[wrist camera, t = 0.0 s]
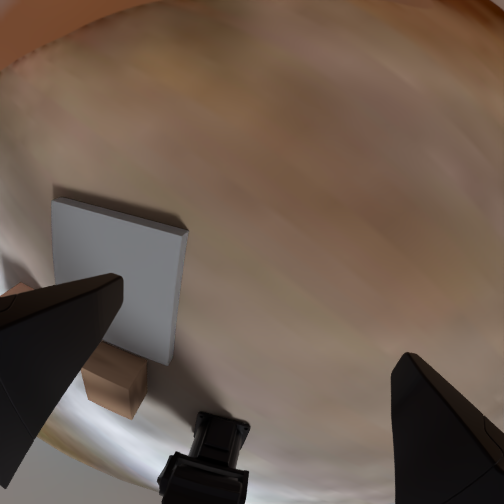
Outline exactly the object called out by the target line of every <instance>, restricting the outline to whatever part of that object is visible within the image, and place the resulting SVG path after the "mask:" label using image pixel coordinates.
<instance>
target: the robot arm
mask: <svg viewBox="0 0 504 504" xmlns="http://www.w3.org/2000/svg"><path fill="white" fill-rule="evenodd" d="M123 300H124V280H123V277H122V276H120V275H117V274H114V273H107V274H103V275H98V276H93V277H89V278H84V279H80V280H75V281H71V282H66V283H62V284H57V285H53V286H48V287H44V288H39V289H35V290H31V291H26V292H22V293H18V294H13V295H8V296H4V297H0V485H1V486H2V487H3V488H4V489H6V488H7V487H8V485H9V483H10V481H11V479H12V477H13V476H14V474H15V472H16V471H17V469H18V467H19V465H20V464H21V462H22V460H23V458H24V457H25V455H26V453H27V452H28V450H29V448H30V447H31V445H32V443H33V442H34V440H33V439H35V438H36V436H37V435H38V433H39V432H40V430H41V428H42V427H43V425H44V424H45V422H46V420H47V419H48V417H49V416H50V414H51V413H52V411H53V410H54V408H55V407H56V405H57V404H58V402H59V401H60V399H61V398H62V396H63V395H64V393H65V392H66V390H67V389H68V387H69V386H70V384H71V383H72V381H73V380H74V379H75V377H76V376H77V374H78V373H79V371H80V370H81V369H82V367H83V366H84V364H85V363H86V361H87V360H88V359H89V357H90V356H91V355H92V353H93V352H94V350H95V349H96V348H97V346H98V345H99V343H100V342H101V340H102V339H103V337H104V335H105V334H106V332H107V330H108V329H109V327H110V325H111V323H112V322H113V320H114V318H115V316H116V315H117V313H118V311H119V310H120V308H121V306H122V304H123ZM391 420H392V432H393V446H394V463H395V504H504V433H503V432H502V431H501V430H500V429H498V428H497V427H496V426H495V425H494V424H493V423H492V422H491V421H490V420H489V419H488V418H487V417H486V416H483V414H482V413H481V412H480V411H479V410H478V409H477V408H476V407H475V406H474V405H473V404H472V403H470V402H469V401H468V400H467V399H466V398H465V397H464V396H463V395H462V394H461V393H460V392H459V391H457V390H456V389H455V388H454V387H453V386H452V385H451V384H450V383H449V382H448V381H446V380H445V379H444V378H443V377H442V376H441V375H440V374H439V373H438V372H436V371H435V370H434V369H433V368H432V367H431V366H430V365H429V364H427V363H426V362H425V361H424V360H423V359H422V358H421V357H420V356H418V355H417V354H415V353H410V352H406V353H404V354H403V355H402V357H401V358H400V360H399V361H398V363H397V364H396V366H395V368H394V369H393V371H392V373H391ZM250 427H251V426H250V425H248V424H244V423H240V422H236V421H232V420H229V419H225V418H221V417H218V416H214V415H211V414H207V413H204V412H199V413H198V415H197V420H196V426H195V431H194V441H193V444H192V447H191V450H190V452H189V455H188V456H187V455H184V454H181V453H180V452H177V451H176V452H175V454H174V455H170V456H169V459H168V461H167V464H166V466H165V467H164V469H163V471H162V472H161V474H160V475H159V477H158V479H157V482H158V484H159V489H160V491H159V495H161V496H163V499H162V504H245V500H246V495H247V486H248V477H249V471H246V470H244V471H243V470H238V469H236V465H237V460H238V456H239V451H240V450H241V448H242V446H243V444H244V442H245V439H246V437H247V435H248V433H249V431H250Z"/></svg>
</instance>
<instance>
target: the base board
mask: <svg viewBox="0 0 504 504" xmlns="http://www.w3.org/2000/svg"><path fill="white" fill-rule="evenodd" d="M51 217H52V248H53V263H54V274H55V284H56V285H57V284H62V283H66V282H71V281H75V280H80V279H84V278H89V277H93V276H98V275H103V274H107V273H114V274H117V275H120V276H122V277H123V280H124V300H123V304H122V306H121V308H120V310H119V311H118V313H117V315H116V316H115V318H114V320H113V322H112V323H111V325H110V327H109V329H108V330H107V332H106V334H105V335H104V337H103V339H102V340H104V341H106V342H108V343H111V344H113V345H115V346H118V347H120V348H122V349H125V350H127V351H130V352H132V353H135V354H137V355H140V356H142V357H145V358H147V359H150V360H153V361H155V362H158V363H161V364H163V365H166V366H168V365H169V363H170V361H171V360H172V358H173V351H174V340H175V330H176V321H177V312H178V304H179V295H180V287H181V280H182V272H183V265H184V258H185V251H186V245H187V238H188V232H189V231H188V230H185V229H181V228H177V227H173V226H170V225H166V224H162V223H158V222H155V221H151V220H147V219H143V218H140V217H136V216H132V215H128V214H125V213H121V212H117V211H113V210H110V209H106V208H102V207H98V206H94V205H91V204H87V203H83V202H79V201H75V200H72V199H68V198H64V197H60V198H57V199H54V200H52V207H51Z"/></svg>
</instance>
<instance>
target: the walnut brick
mask: <svg viewBox="0 0 504 504" xmlns="http://www.w3.org/2000/svg"><path fill="white" fill-rule="evenodd" d="M81 373H82V377H83V381H84V385H85V389H86V393H87V397H88V400H90V401H92V402H94V403H96V404H98V405H100V406H102V407H104V408H106V409H108V410H110V411H112V412H115V413H117V414H119V415H121V416H123V417H126V418H128V419H130V420H132V419H133V417H134V415H135V414H136V412H137V410H138V408H139V406H140V405H141V403H142V401H143V399H144V397H145V396H146V394H147V360H146V359H143V358H141V357H138V356H136V355H133V354H131V353H128V352H126V351H123V350H121V349H119V348H116V347H114V346H112V345H109V344H107V343H105V342H103V341H102V342H101V343H100V344H99V345H98V346H97V348H96V349H95V350H94V352H93V353H92V355H91V356H90V357H89V359H88V360H87V361H86V363H85V364H84V366H83V367H82V369H81Z"/></svg>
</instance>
